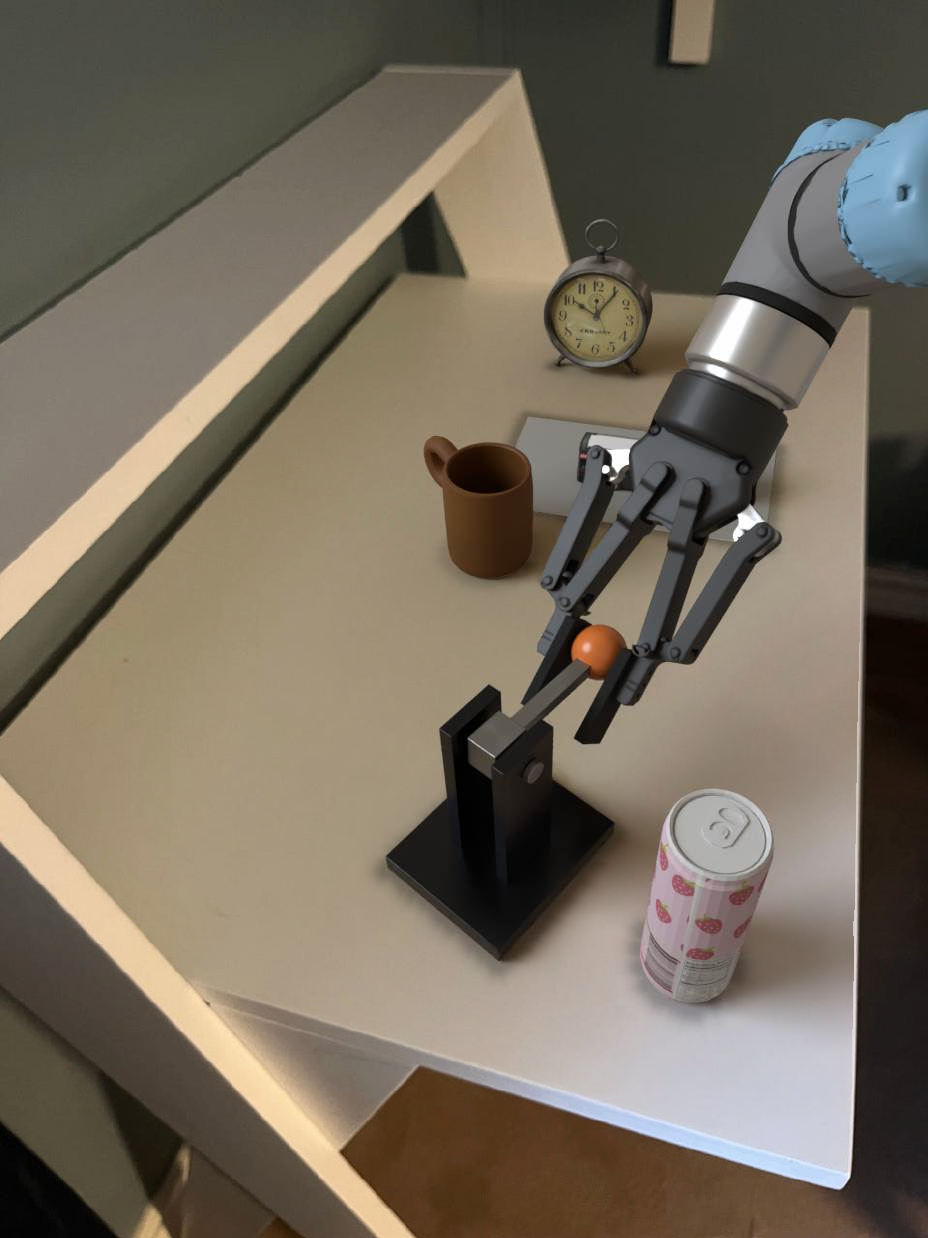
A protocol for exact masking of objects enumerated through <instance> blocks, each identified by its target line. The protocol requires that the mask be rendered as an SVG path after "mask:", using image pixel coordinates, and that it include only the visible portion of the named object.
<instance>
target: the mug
mask: <svg viewBox="0 0 928 1238" xmlns="http://www.w3.org/2000/svg"><path fill="white" fill-rule="evenodd" d="M423 459H424V463H425V465H426V466H425V467H426V468H427V471H428V472H429V474H430V476H431V477H432V479H433V481H434V482H435V483H436V484H437V485H438V486H439V487H440V488H441V489H442V501H443V511H444V524H445V533H446V542H447V551H448V554H449V557H450V559H451V562H452V563H453V564H454V565H455V566H456V568H458V569H459V570H460V571H461V572H462V573H465V574H467V575H470V576H473V577H476V578H480V579H498V578H502V577H503V578H504V577H507V576H509V575H512V574H514V573H516V572H518V571H519V570H520V569H522V568H523V567H524V566H525V565H526V563H527V562H528V561H529V559H530V557H531V555H532V552H533V546H534V545H533V544H534V511H533V479H532V468H531V464H530V461H529V459H528V458H527V457H526V455H525V454H524V453H523V452H521V451H520V450H518V449H517V448H515V446H512V445H510V444H506V443H501V442H495V441H493V442H491V441H487V442H486V441H485V442H477V443H476V442H475V443H472V444H469V445H466V446H463V447H461V448H459V449H458V448H457V447H456V445H454V443H453V442H452V441H450V439H448V438H446V437H444V436H440V435H432V436H431V437H430V438H428V439H427V440H426V441H425V442H424V446H423Z"/></svg>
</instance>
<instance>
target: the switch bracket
mask: <svg viewBox="0 0 928 1238" xmlns="http://www.w3.org/2000/svg"><path fill="white" fill-rule="evenodd" d="M498 710H499V711H500V712H502V713H503V709H502V692H501V690H499V689H498V688H496V687H494V686H493V685H491V684H490V683H489V684H486V686H485V687H484V688H482V689H481V690H480V691H479V692H478V693H477V694H476V695H475V696H474V697H472V698H471V699H470V700H469V701H468V702H467V703H466V704H464V706H462V707H461V708H460V709H459V710H458V711H457V712H456V713H455V714H454V715H453V716H451V717H450V718H448V719H447V720H446V722H444V724H442V725H441V726H440V727H439V728H438V732H439V733H438V734H439V741H440V750H441V758H442V767H443V775H444V784H445V792H446V793H445V794H446V798H445V799H444V800H443V801H442V802H441V803H440V804H439V805H438V806H437V807H435V808H434V810H432V811H431V812H430V813H429V814H428V815H427V816H426V817H425V818H424V819H423V820H422V821H421V822H419V824H417V825H416V827H415V828H414V829H413V830H411V831H410V832H409V833H408V834H407V835H406V836H405V837H404V838H403V839H402V840H401V841H400V842H399V843H398V844H396V846H395V847H393V849H392V850H390V851H389V852H388V853H387V854H386V855H385V861H386V866H387V869H389V870H390V871H391V872H392V873H393V874H395V875H396V876H397V877H398V878H399V879H401V880H402V881H403V882H404V883H405V884H407V885H408V886H409V887H410V888H411V889H412V890H414V891H415V892H416V893H417V894H418V895H420V896H421V897H422V898H423V899H424V900H426V901H427V903H429V904H430V905H431V906H432V907H434V908H435V909H436V910H437V911H438V912H439V913H441V914H442V915H443V916H444V917H445V918H447V919H448V920H449V921H450V922H452V924H453V925H455V926H456V927H458V928H459V930H460V931H462V932H463V933H465V934H466V935H467V936H468V937H469V938H470V939H472V940H473V941H474V942H475V943H476V944H477V945H479V946H480V947H481V948H482V949H484V950H485V951H486V952H487V953H488V954H490V955H491V956H492V957H493V958H494V959H495V960H497V962H501V961H502V959H504V957H505V956H506V955H507V954H508V952H509V951H511V950H512V948H513V947H514V946H515V945H516V944H517V943H518V942H519V940H521V939H522V937H523V936H524V935H525V934H526V932H528V930H529V929H530V928H531V927H532V925H534V923H536V922H537V920H538V919H539V918H540V917H541V916H542V914H544V912H545V911H546V910H547V909H548V908H549V907H550V906H551V904H552V903H553V902H555V900H556V899H557V898H558V897H559V896H560V894H561V893H562V892H563V891H564V890H565V889H567V887H568V886H569V884H571V882H573V880H574V879H575V878H576V877H577V876H578V875H579V874H580V873H581V871H582V870H583V869H584V868H585V867H586V865H588V863H589V862H590V861H591V860H592V859H593V858H594V857H595V856H596V854H597V853H598V852H599V851H601V848H603V846H604V845H605V844H606V843H608V841H609V840H610V839H611V838H612V837H613V835H614V834H615V827H616V821H614V820H613V819H611V818H609V817H608V816H606V815H605V814H604V813H603V812H601V811H599V810H598V809H597V808H595V807H594V806H592V805H591V804H590V803H588V802H587V801H586V800H584V799H582V798H581V797H579V796H578V795H576V794H575V793H574V792H572V791H570V790H569V789H568V788H566V787H565V786H564V785H562V784H560V783H559V782H558V781H556V780H555V779H553V769H554V767H553V765H554V764H553V763H554V729H555V728H554V726H553V725H552V724H550V723H549V722H548V721H545V720H544V719H539V720H538V721H537V722H536V723H535V724H534V725H533V726H532V727H531V728H530V729H529V730H528V731H527V732H526V733H525V734H524V735H523V736H522V737H521V738H520V739H519V740H518V741H516V742H515V743H514V744H513V745H512V746H511V747H510V748H509V749H508V750H507V751H506V752H505V753H504V754H503V755H502V756H501V757H500V758H499V759H498V760H497V761H496V762H495V763H494V764H493V765H492V766H491V775H492V780H491V779H490V778H489V777H487V776H486V775H485V774H483V773H482V772H480V771H479V770H478V769H476V768H475V767H474V766H472V765H471V764H469V763H468V747H467V738H468V737H469V736H470V735H471V734H472V733H473V732H474V731H476V730H477V729H478V728H479V727H480V726H481V725H482V724H483V723H485V722H486V721H487V720H488V719H489V718H490V717H491V716H493V715H494V714H495V713H496V712H497V711H498Z"/></svg>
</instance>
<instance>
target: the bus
mask: <svg viewBox="0 0 928 1238" xmlns="http://www.w3.org/2000/svg"><path fill="white" fill-rule="evenodd" d="M646 433H647V431H643V430H635V429H628V428H620V427H612V426H604V425H598V424H597V425H596V424H591V423H590V424H589V423H581V422H575V421H574V422H573V421H565V420H559V419H550V418H544V417H543V418H542V417H534V416H527V418H526V421H525V423H524V426H523V428H522V429H521V432H520V434H519V437H518V439H517V442H516V444H515V446H514V447H515V448H517V449H518V450H520V451H521V452H523V453H524V454H525V455H526V457H527V458H528V459H529V461H530V464H531V468H532V479H533V512H536V513H537V512H538V513H543V514H550V515H557V516H564V517H568V515H569V512H570V510H571V508H572V506H573V503H574V501H575V499H576V497H577V494H578V492H579V490H580V488H581V486H582V483H583V481H584V476H585V467H586V458H587V452H588V450H589V448H590V447H592V446H593V445H600V446H601V447H603V448H604V449H606V450H630V449H631V447H632V446H633V444H634V443H635V442H637V441H638V440H639V439H641V438H642V437H643V436H644V435H645V434H646ZM776 456H777V449H776V450H775V452H774V454H773V455H772V457H771V459H770V461H769V463H768V465H767V466H766V468H765V470H764V472H763V473H762V475H761V477H760V478H759V480H758V483H757V486H756V501H755V504H754V508H755V509H756V510H757V511H758V513H759V514H760V515H761V516H762V517H763V518H764V520H765V521H766V522H767V523H768V520H769V512H770V504H771V495H772V488H773V481H774V473H775V463H776V458H777V457H776ZM631 494H632V491H631V482H630V472H629V469H628V470H627V471H626V473H625V474H624V477H623V480H622V481H621V482H619V483H618V484H616V486H615V490H614V494H613V496H612V499H611V501H610V504H609V506H608V508H607V510H606V512H605V515H604V517H603V519H602V521H601V523H602V522H603V523H608V524H614V522H615V521H616V519H617V513H618V512H619V510H620V509H621V507H622V506H623V505H624V503H625V502H626V501H627V499H628V498H629V497H630V495H631ZM738 524H739V519H737V520H735V521H733V522H731V523H730V524H728V525H726V526H724V527H722V528H720V529H718V530H717V531H715V532H713V533H711V534H710V535H709V538H708V539H716V540H722V541H727V542H733V543H734V542H735V541H734V539H733V533H734V531H735V529H736V528H737V527H738ZM653 530H656V531H662V532H668V533H670V532H671V531H669V530H668V529H667V528H666V527H665V526H659V525H656V527H655V528H654V529H653Z"/></svg>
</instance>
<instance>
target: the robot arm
mask: <svg viewBox="0 0 928 1238" xmlns="http://www.w3.org/2000/svg"><path fill="white" fill-rule="evenodd" d="M926 287H927V288H928V108H922V109H920V110H917V111H915V112H911V113H909V114H906V115H905V116H903V118H901V119H900V120H899V121H897V122H892V123H890V124H889V125H887V126H886V127H885V128H883V127H881V126H878V125H877V124H874V123H871V122H869V121H865V120H861V119H857V118H851V117H844V118H843V117H842V118H841V119H840V120H837V119H834V118H824V119H821V120H818V121H816V122H813V123H812V124H810V125H809V126H808V127H806V128H805V130H803V131H802V132H801V134H800V135H799V137H798V139H797V140H796V142H795V144H794V145H793V147H792V149H791V151H790V153H789V154H788V156H787V157H786V159H785V161H784V162H783V164H782V165H780V166H779V167H778V168H777V170H776V171H775V173H774V175H773V177H772V178H771V181H770V186H769V187H768V191H767V194H766V196H765V198H764V200H763V202H762V204H761V205H760V208H759V210H758V212H757V214H756V215H755V218H754V220H753V222H752V224H751V226H750V227H749V230H748V232H747V234H746V235H745V238H744V240H743V241H742V244H741V245H740V247H739V249H738V251H737V254H736V255H735V258H734V259H733V261H732V263H731V265H730V267H729V269H728V271H727V274H726V275H725V277H724V279H723V281H722V283H721V285H720V288H719V289H718V291H717V293H716V295H715V297H714V300H713V301H712V303H711V305H710V306H709V309H708V310H707V312H706V314H705V315H704V317H703V319H702V321H701V323H700V326H698V328H697V331H696V333H695V334H694V336H693V338H692V339H691V342H690V344H689V345H688V347H687V349H686V351H685V352H684V358H685V361H686V364H688V366H689V368H682V369H680V371H679V370H678V371H676V372H675V373H674V375H673V377H672V379H671V381H670V383H669V385H668V386H667V389H666V391H665V393H664V394H663V397H662V399H661V400H660V402H659V405H658V406H657V408H656V410H655V412H654V414H653V416H652V419H651V422H650V425H649V428H648V430H647V431H646V432H647V433H646V434H645V435H644V436H643V437H642V438H641V439H639V440H638V441H637V442H635V443H634V444H633V446H632V447H631V449H630V450H606V449H604V448H603V447H601V446H600V445H593V446H592V447H590V448H589V450H588V452H587V458H586V467H585V476H584V481H583V483H582V486H581V488H580V490H579V492H578V494H577V497H576V499H575V501H574V503H573V506H572V508H571V510H570V512H569V515H568V516H566V519H565V521H564V524H563V527H562V528H561V530H560V533H559V534H558V537H557V539H556V541H555V543H554V546H553V548H552V550H551V553H550V555H549V557H548V559H547V562H546V563H545V566H544V568H543V570H542V573H541V575H540V577H539V585H540V587H541V588H542V589H543V590H546V591H547V592H548V594H549V595H550V597H551V598H552V599H553V601H554V603H555V608H554V611H553V613H552V615H551V617H550V619H549V621H548V623H547V624H546V627H545V629H544V631H543V632H542V635H541V637H540V638H539V641H538V642H537V647H536V652H537V653H539V654H540V655H541V656H543V659H542V661H541V662H540V664H539V667H538V669H537V671H536V673H535V674H534V676H533V678H532V680H531V682H530V684H529V686H528V688H527V690H526V692H525V693H524V696H523V698H522V699H521V702H520V705H522V707H523V706H524V705H525V704H526V703H528V702H529V701H530V700H531V699H532V698H533V697H534V696H535V695H536V694H538V693H539V692H540V691H541V690H542V689H543V688H544V687H545V686H546V685H548V684H549V683H550V682H551V681H552V680H553V679H554V678H555V677H556V676H558V675H559V674H560V673H561V672H562V671H563V670H564V669H565V668H566V667H568V666H569V665H570V664H571V663H572V662H573V661H572V657H571V648H572V644H573V641H574V639H575V638H576V636H577V635H578V634H579V633H580V632H581V631H582V630H583V629H585V628H587V627H589V626H592V625H593V624H592V623H591V622H589V621H587V620H586V619H584V618H582V617H587V616H589V615H591V614H592V612H591V611H589V610H590V608H591V607H592V605H593V604H594V603H595V602H596V601H597V599H598V598H599V597H600V595H601V594H602V593H603V591H604V590H605V589H606V587H607V586H608V585H609V583H610V582H611V581H612V579H613V578H614V577H615V575H617V573H618V572H619V570H620V569H621V568H622V566H623V565H624V564H625V562H626V561H627V560H628V559H629V557H631V554H632V553H633V552H634V551H635V549H636V548H638V547H637V546H638V545H639V544H640V543H641V542H642V540H643V539H644V538H645V537H646V536H648V535H650V534H651V533H652V532H653V530H655V529H654V528H655V527H656V525H659V526H665V527H666V528H667V529H668V530H669V531H671V532H669V535H668V538H667V543H666V545H667V550H666V554H665V557H664V560H663V563H662V566H661V570H660V573H659V575H658V578H657V581H656V585H655V586H654V587H655V588H654V590H653V594H652V596H651V600H650V602H649V606H648V608H647V612H646V615H645V618H644V621H643V624H642V627H641V630H640V633H639V636H638V639H637V642H636V644H634V643H633V644H631V648H628V647H627V648H621V650H620V652H619V653H618V655H617V657H616V659H615V661H614V663H613V665H612V667H611V668H610V670H609V672H608V674H607V676H606V678H605V680H603V682H602V683H601V686H600V687H599V689H598V691H597V693H596V694H595V697H594V698H593V700H592V702H591V704H590V706H589V708H588V710H587V712H586V714H585V715H584V717H583V719H582V721H581V723H580V724H579V726H578V729H577V731H575V733H574V734H575V735H574V736H573V739H574V740H575V741H577V742H578V743H580V744H581V745H600V744H601V743H602V741H603V739H604V738H605V735H606V733H607V731H608V729H609V728H610V726H611V724H612V722H613V720H614V718H615V717H616V715H617V713H618V712H619V709H620V707H621V705H623V706H624V707H634V706H635V705H636V704H637V703H638V702H640V700H641V698H642V696H643V695H644V693H645V691H646V689H647V688H648V685H649V683H650V682H651V680H652V678H653V676H654V674H655V672H656V670H657V669H658V668H659V667H660V665H662V664H664V663H671V664H678V665H679V664H680V665H685V666H691V665H692V664H694V663H695V662H696V661H697V659H698V658H699V656H700V655H701V653H702V651H704V649H705V647H706V645H707V644H708V642H709V640H710V639H711V637H712V636H713V634H714V632H715V631H716V629H717V628H718V626H719V624H720V623H721V621H722V619H723V618H724V617H725V614H726V613H727V612H728V610H729V608H730V606H731V605H732V603H733V602H734V600H735V598H736V597H737V595H738V594H739V592H740V590H741V589H742V587H744V584H745V582H746V581H747V580H748V577H749V576H750V575H751V574H752V572H753V570H754V568H755V566H756V565H757V564H759V563H760V562H761V561H762V560H763V559H765V557H767V556H768V555H769V554H771V553H772V552H774V550H775V549H777V548H778V547H779V546H780V545H781V544H782V541H783V535H782V533H781V532H780V531H779V530H778V529H776V528H775V527H774V526H772V525H771V524H769V523H768V521H767V522H766V521H765V520H764V518H763V517H762V516H761V515H760V514H759V513H758V511H757V510H756V509H755V508H754V504H755V501H756V486H757V483H758V480H759V478H760V477H761V475H762V473H763V472H764V470H765V468H766V466H767V465H768V463H769V461H770V459H771V457H772V455H773V454H774V452H775V450H776V451H777V448H778V446H779V444H780V442H781V441H782V440H783V437H784V435H785V433H786V432H787V429H788V428H789V423H788V417H787V415H786V414H785V412H788V411H792V410H797V409H798V408H799V406H800V405H801V403H802V401H803V399H804V397H805V395H806V394H807V392H808V390H809V388H810V387H811V385H812V383H813V381H814V379H815V377H816V375H817V373H818V372H819V370H820V369H821V366H822V365H823V362H824V361H825V360H826V357H827V356H828V354H829V351H831V348H832V347H833V345H834V343H835V341H836V338H837V336H838V334H839V333H840V331H841V329H842V327H843V325H844V324H845V322H846V320H847V318H848V317H849V315H850V313H851V312H852V310H853V308H854V306H855V304H856V303H857V301H858V299H859V298H863V297H869V296H873V295H875V294H876V295H877V294H882V293H888V292H895V291H901V290H907V289H914V288H926ZM628 469H629V472H630V482H631V491H632V494H631V495H630V497H629V498H628V499H627V501H626V502H625V503H624V505H623V506H622V507H621V509H620V510H619V512H618V513H617V519H616V521H615V522H614V523H612V524H611V526H610V527H609V529H608V530H607V531H606V532H605V534H604V535H603V536H602V538H601V539H600V541H599V542H598V543H597V544H596V546H595V547H594V549H593V550H592V551H591V553H590V554H589V555H588V557H587V554H588V553H589V550H590V547H591V546H592V543H593V542H594V539H595V537H596V535H597V532H598V530H599V528H600V526H601V524H602V519H603V517H604V515H605V512H606V510H607V508H608V506H609V504H610V501H611V499H612V496H613V494H614V490H615V486H616V484H618V483H619V482H621V481H622V480H623V477H624V474H625V473H626V471H627V470H628ZM737 519H739V524H738V527H737V528H736V529H735V531H734V533H733V539H734V541H735V542H734V541H733V542H732V544H731V545H730V547H729V548H728V549H726V552H725V553H724V554H723V556H722V558H721V559H720V561H719V562H718V564H717V566H716V567H715V569H714V571H713V572H712V574H711V576H710V577H709V579H708V581H706V583H705V585H704V587H703V588H702V590H701V591H700V594H699V595H698V597H697V598H696V600H695V602H694V603H693V605H692V607H691V608H690V610H689V611H688V613H687V615H686V616H685V618H684V620H683V621H682V622H681V624H680V626H679V627H678V629H677V626H678V623H679V620H680V617H681V614H682V612H683V611H682V610H683V608H684V604H685V602H686V598H687V596H688V592H689V589H690V587H691V584H692V581H693V578H694V574H695V573H696V572H695V571H696V568H697V565H698V563H699V560H700V559H701V558H702V557H703V555H704V553H705V549H706V547H707V544H708V541H709V539H710V538H709V535H710V534H711V533H713V532H715V531H717V530H718V529H720V528H722V527H724V526H726V525H728V524H730V523H731V522H733V521H735V520H737ZM586 557H587V558H586ZM676 629H677V631H676Z"/></svg>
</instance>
